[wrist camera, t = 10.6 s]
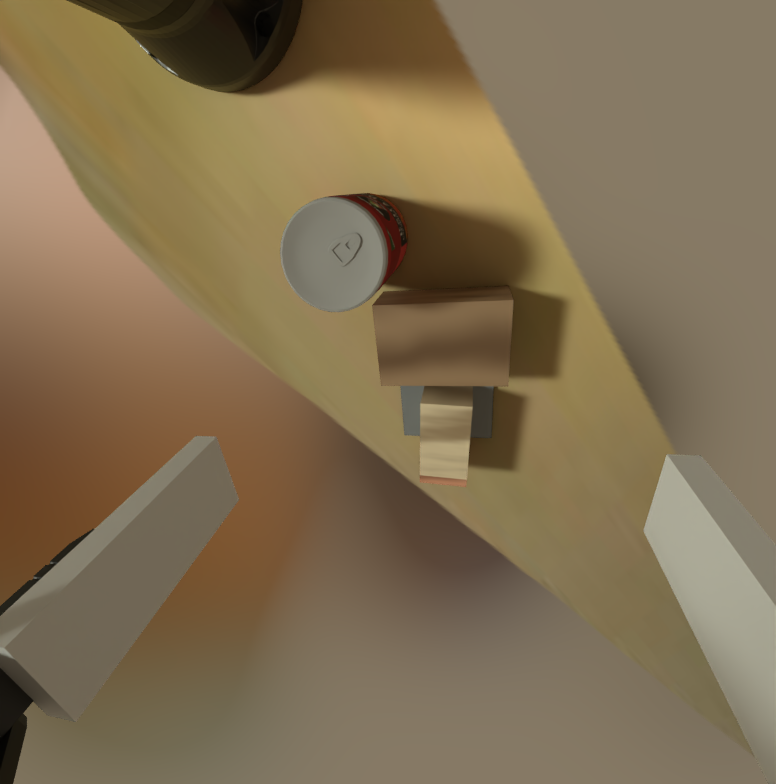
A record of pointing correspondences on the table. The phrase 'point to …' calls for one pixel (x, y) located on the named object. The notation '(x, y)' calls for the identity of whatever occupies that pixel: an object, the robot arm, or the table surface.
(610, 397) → the table surface
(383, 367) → the step
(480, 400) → the mat
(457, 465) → the block
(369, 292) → the canned food
